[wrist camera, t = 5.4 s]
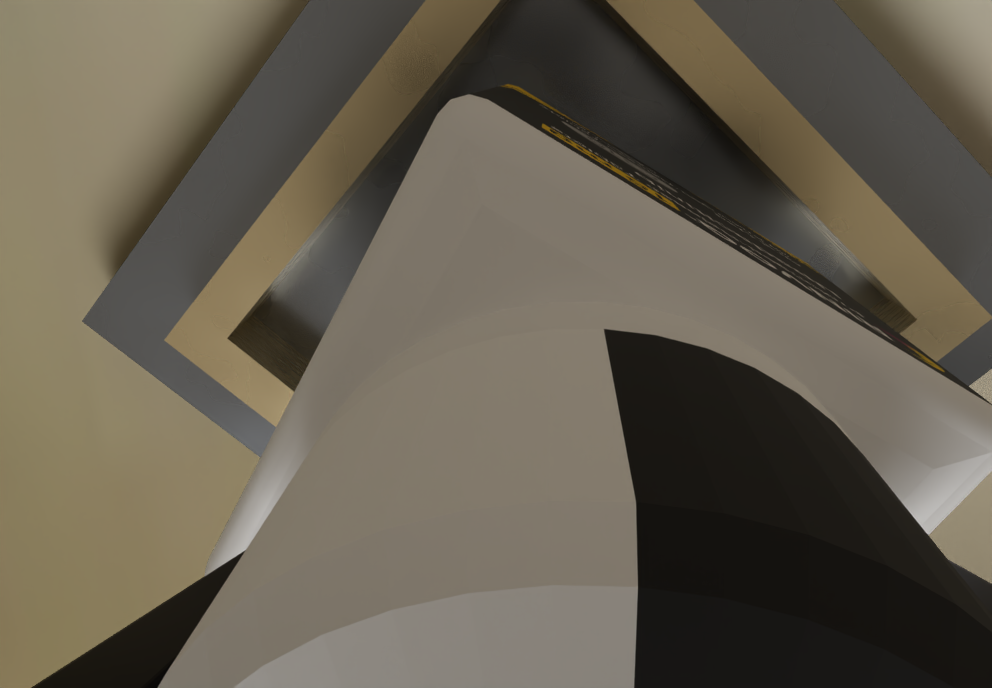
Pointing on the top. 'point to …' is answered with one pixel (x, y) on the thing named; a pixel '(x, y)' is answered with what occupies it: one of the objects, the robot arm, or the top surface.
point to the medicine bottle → (596, 452)
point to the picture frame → (593, 104)
